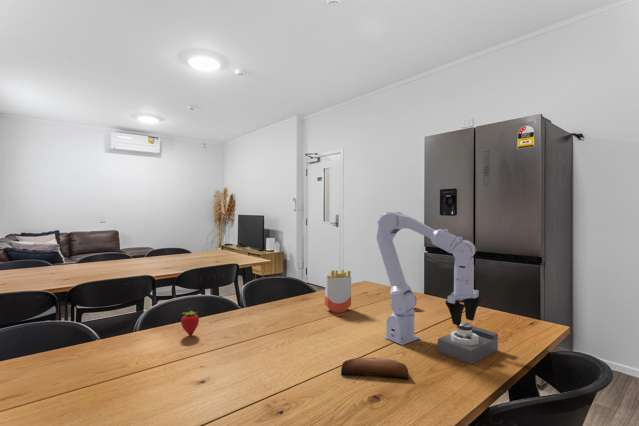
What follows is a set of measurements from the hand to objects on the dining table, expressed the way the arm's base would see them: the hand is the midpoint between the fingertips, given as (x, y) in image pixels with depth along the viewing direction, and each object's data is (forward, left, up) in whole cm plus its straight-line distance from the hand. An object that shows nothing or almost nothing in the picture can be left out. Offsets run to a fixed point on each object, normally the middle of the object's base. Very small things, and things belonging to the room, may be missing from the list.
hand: (463, 322), depth 106 cm
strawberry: (-65, +64, -10) cm, 92 cm away
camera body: (+2, -1, -9) cm, 10 cm away
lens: (0, -1, -5) cm, 5 cm away
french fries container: (-4, +56, -10) cm, 57 cm away
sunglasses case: (-32, +8, -10) cm, 34 cm away
